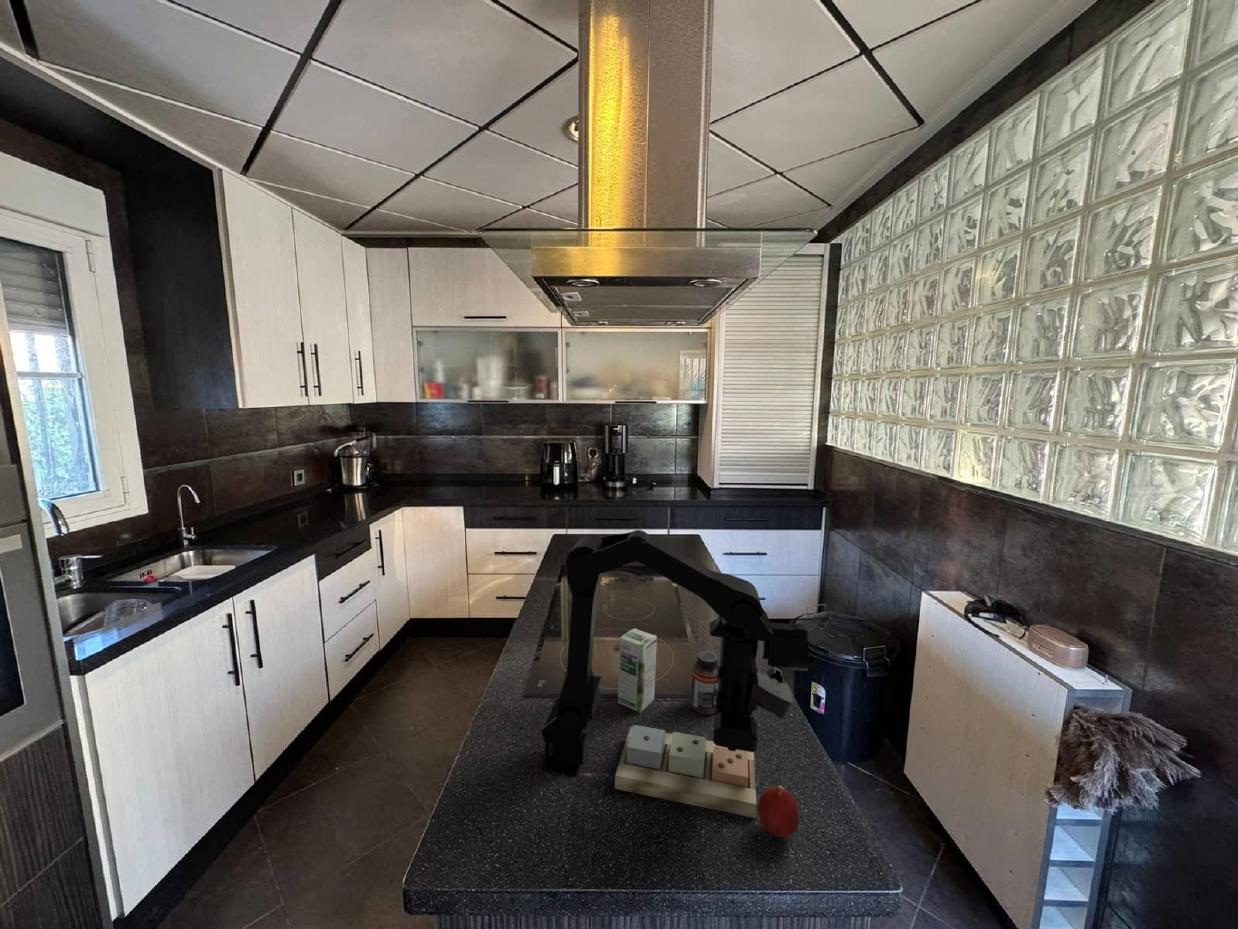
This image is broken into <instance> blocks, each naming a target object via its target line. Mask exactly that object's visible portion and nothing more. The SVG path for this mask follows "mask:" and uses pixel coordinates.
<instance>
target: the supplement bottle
mask: <svg viewBox="0 0 1238 929" xmlns="http://www.w3.org/2000/svg"><path fill="white" fill-rule="evenodd" d="M696 659H697V660H696V661H695V662H694V663H693V664H692V667H691V668H692V671H691V688H690V689H691V690H690V691H691V693H690V704H691V707H692V709H693V710H694V711H695V712H697V713H699V714H700V715H701V714H702V715H707V716H710V715H715V711H717V708H716V696H717V693H718V684H717V669H718V665H719V663H718V660H719V659H718V655H717V654H716V653H714V652H713V651H709V650H702V651H700V652H698V654H697V658H696Z"/></svg>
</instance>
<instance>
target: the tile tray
mask: <svg viewBox="0 0 1238 929" xmlns="http://www.w3.org/2000/svg"><path fill="white" fill-rule="evenodd" d="M632 729H633V726H630V727H629V730H628V734H627V736H626V740H625V743H624V746H623V749H622V753H621V756H620V759H619V761H618V762H619V763H618V766H617V768H616V772H615V774H614V789H616V790H619V791H624V792H630V793H633V794H638V795H643V796H649V797H654V798H658V799H663V800H668V801H671V802H672V801H673V802H677V803H682V804H686V805H691V806H696V807H699V808H700V807H701V808H706V809H711V810H715V811H721V812H726V813H730V814H734V815H738V816H744V817H748V818H754V819H756V814H757V790H756V789H757V788H756V770H755V752H749V751H743V750H738V751H743V752H748V788H744V787H739V786H734V785H729V784H724V783H719V782H714V781H712V768H713V751H714V746H716V745H715V744H714V743H713V740H707V739H706V745H705V760H704V772H703V778H701V777H696V776H690V775H685V774H680V773H675V772H670V771H668V770H669V753H670V747H671V742H672V736H673V733H669V732H665V747H664V752H663V757H662V762H661V767H660V769H655V768H650V767H645V766H640V765H635V764H629V763H627V746H628V743H629V739H630V736H631V733H632ZM716 747H721V746H716ZM721 748H726V747H721ZM727 749H728V748H727ZM736 750H737V749H736Z"/></svg>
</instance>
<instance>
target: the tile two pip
mask: <svg viewBox="0 0 1238 929" xmlns="http://www.w3.org/2000/svg"><path fill="white" fill-rule="evenodd" d="M672 734H673V736H672V742H671V747H670V753H669V770H668V771H670V772H675V773H680V774H685V775H690V776H696V777H701V778H703V772H704V760H705V745H706V740H707V737H704V736H700V735H699V736H698V735H694V734H687V733H682V732H677V731H672Z"/></svg>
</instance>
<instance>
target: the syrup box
mask: <svg viewBox="0 0 1238 929" xmlns="http://www.w3.org/2000/svg"><path fill="white" fill-rule="evenodd" d="M657 639H658V637H657V635H655V634H651V633H649V632H646V631H642V630H639V629H638V628H632V629H631V630H629V631H627V632H626V633H625V634H623V635H622V636H621V637H620V639H619V658H618V659H619V661H618V662H619V664H618V665H619V666H618V695H617V703H618V704H619V705H622V706H625V707H626V708H628V709H631V710H633V711H635V712H637V713H639V714H641V713H642V712H643V711H644V710H645V709H646V708H647V707H648V706H649V705H650V704H651V703H652V702H653V701H654V700H655V686H656V684H655V683H656V667H657V666H656V663H657V662H656V660H657V642H658V640H657Z"/></svg>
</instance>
